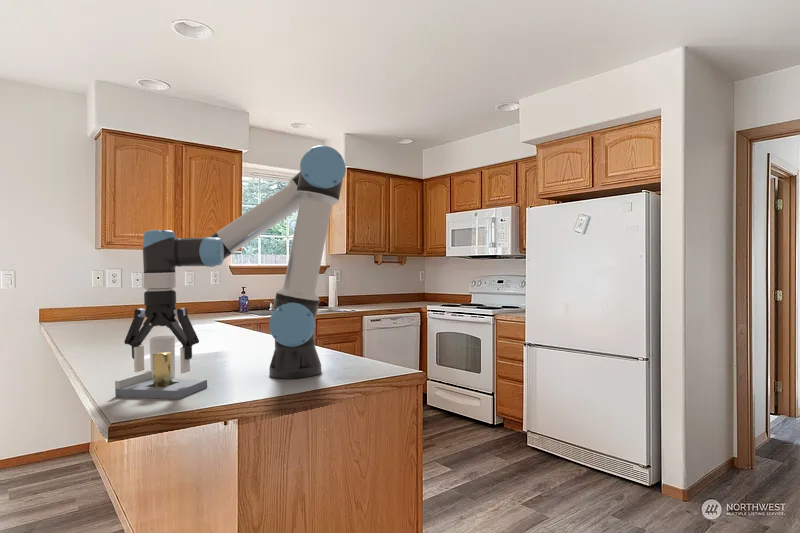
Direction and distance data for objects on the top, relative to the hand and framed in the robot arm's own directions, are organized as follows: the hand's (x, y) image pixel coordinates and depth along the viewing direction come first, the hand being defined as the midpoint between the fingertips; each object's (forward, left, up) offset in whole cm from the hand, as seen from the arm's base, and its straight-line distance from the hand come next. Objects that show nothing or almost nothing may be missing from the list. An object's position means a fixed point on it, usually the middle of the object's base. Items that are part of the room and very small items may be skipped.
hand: (162, 371), depth 132 cm
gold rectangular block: (0, 0, -5) cm, 5 cm away
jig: (0, 0, -5) cm, 5 cm away
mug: (+12, -17, -5) cm, 21 cm away
